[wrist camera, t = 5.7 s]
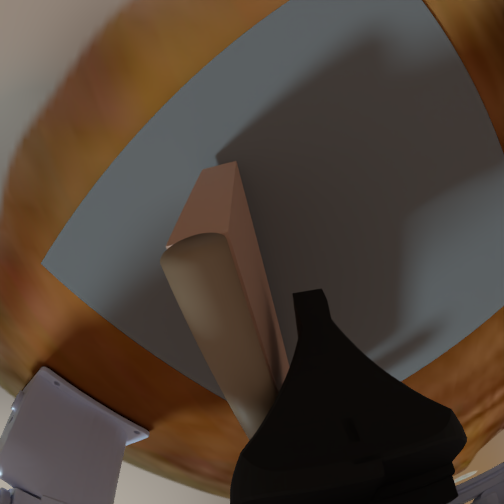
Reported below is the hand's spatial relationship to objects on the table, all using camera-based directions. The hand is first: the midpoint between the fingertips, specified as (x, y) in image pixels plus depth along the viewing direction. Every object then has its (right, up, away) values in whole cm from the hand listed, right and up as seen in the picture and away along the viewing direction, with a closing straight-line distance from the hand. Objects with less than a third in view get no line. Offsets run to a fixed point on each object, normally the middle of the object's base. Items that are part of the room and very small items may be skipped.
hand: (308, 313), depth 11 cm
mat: (+2, +1, +3) cm, 4 cm away
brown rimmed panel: (-1, -1, +3) cm, 3 cm away
